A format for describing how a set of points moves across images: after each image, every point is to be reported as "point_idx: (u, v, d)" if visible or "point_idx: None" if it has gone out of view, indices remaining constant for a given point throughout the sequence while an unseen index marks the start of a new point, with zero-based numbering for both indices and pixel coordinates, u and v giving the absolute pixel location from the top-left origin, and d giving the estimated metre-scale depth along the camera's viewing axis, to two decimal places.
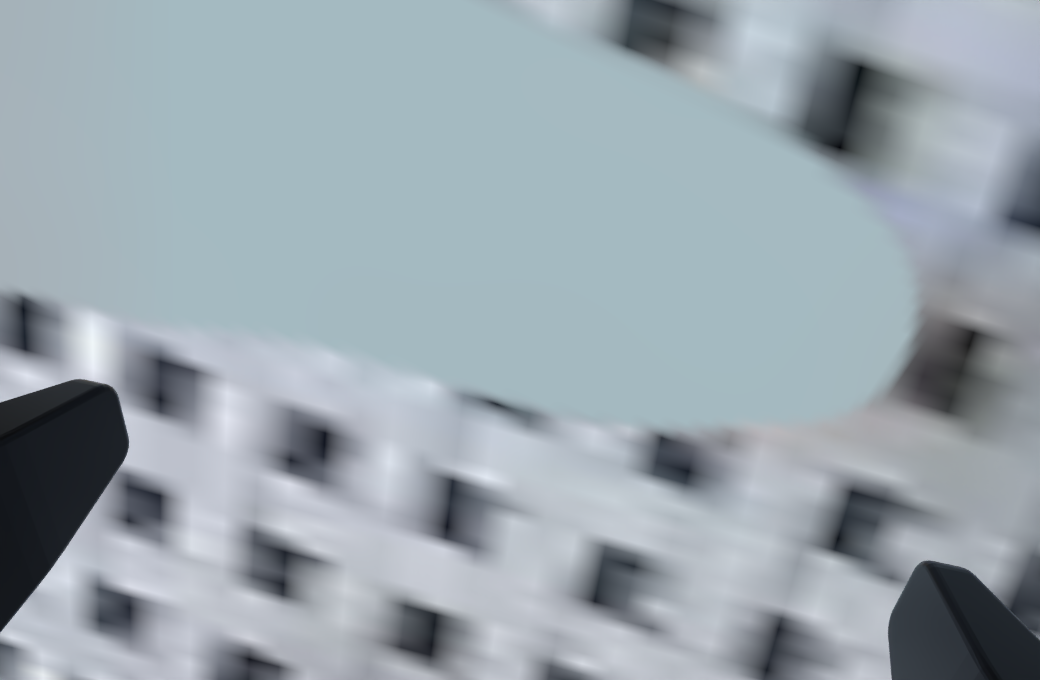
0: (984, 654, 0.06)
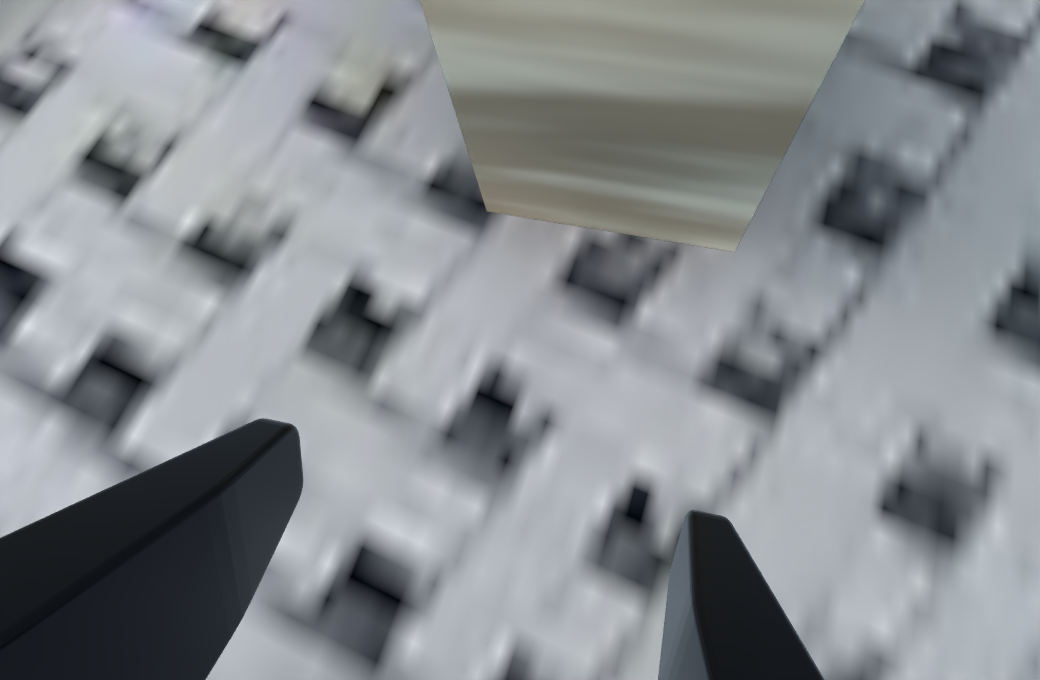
0: (699, 589, 0.06)
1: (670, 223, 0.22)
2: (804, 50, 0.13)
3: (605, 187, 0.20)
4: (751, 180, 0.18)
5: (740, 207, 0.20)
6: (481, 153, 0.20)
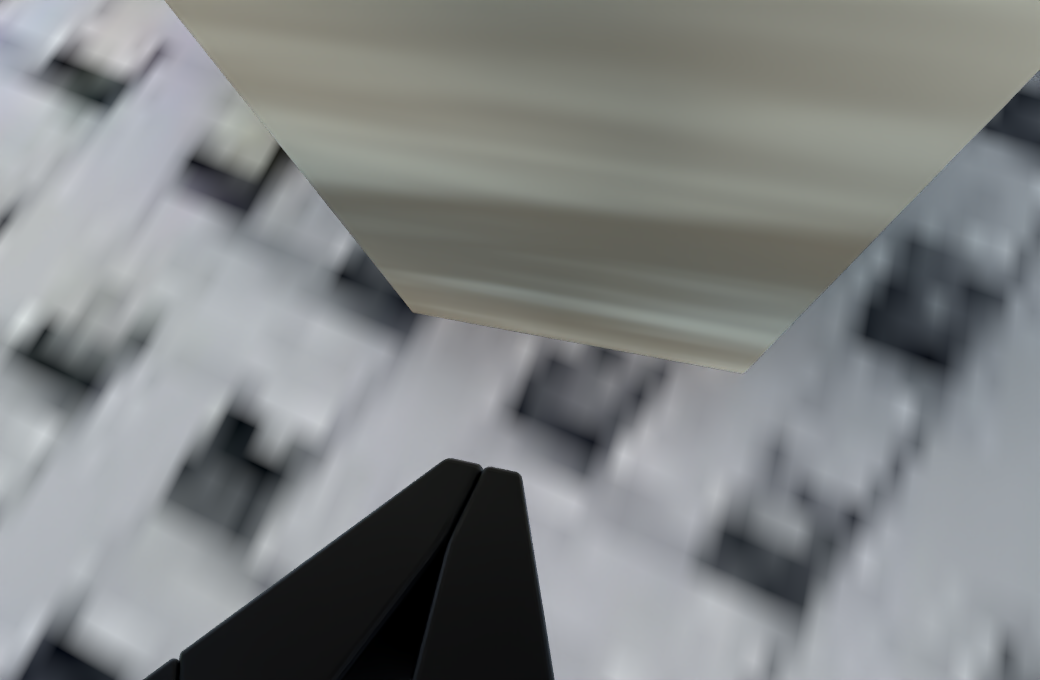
0: (457, 533, 0.06)
1: (656, 342, 0.16)
2: (883, 162, 0.07)
3: (563, 302, 0.14)
4: (772, 311, 0.12)
5: (754, 335, 0.14)
6: (385, 257, 0.14)
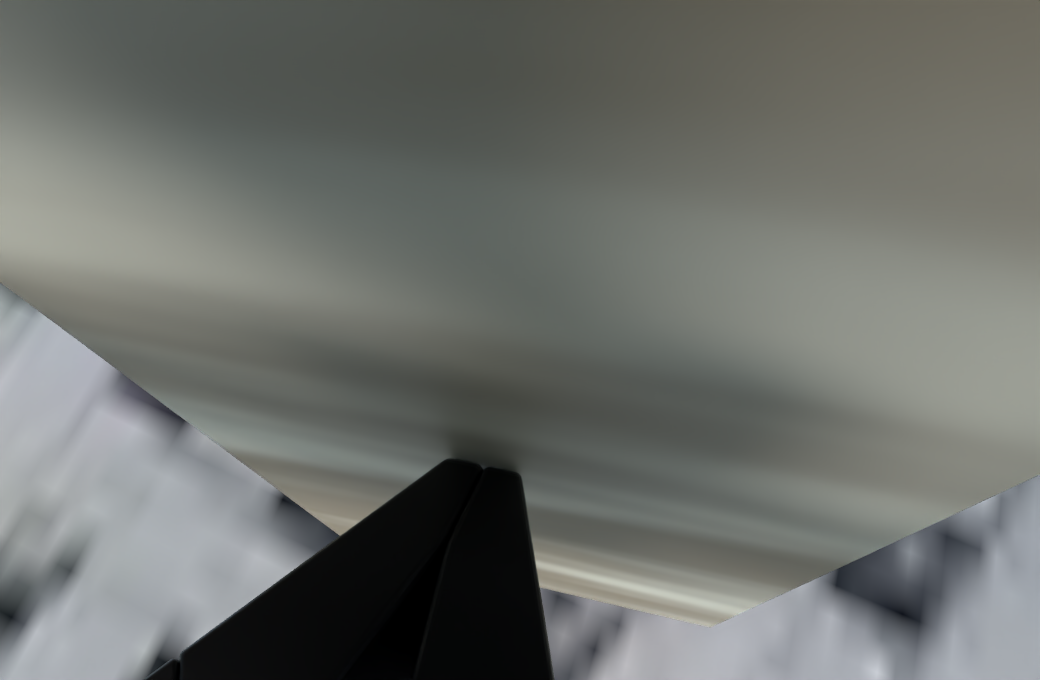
0: (457, 533, 0.06)
1: (613, 595, 0.14)
2: (850, 517, 0.06)
3: None
4: (736, 593, 0.11)
5: (719, 606, 0.12)
6: (312, 504, 0.13)
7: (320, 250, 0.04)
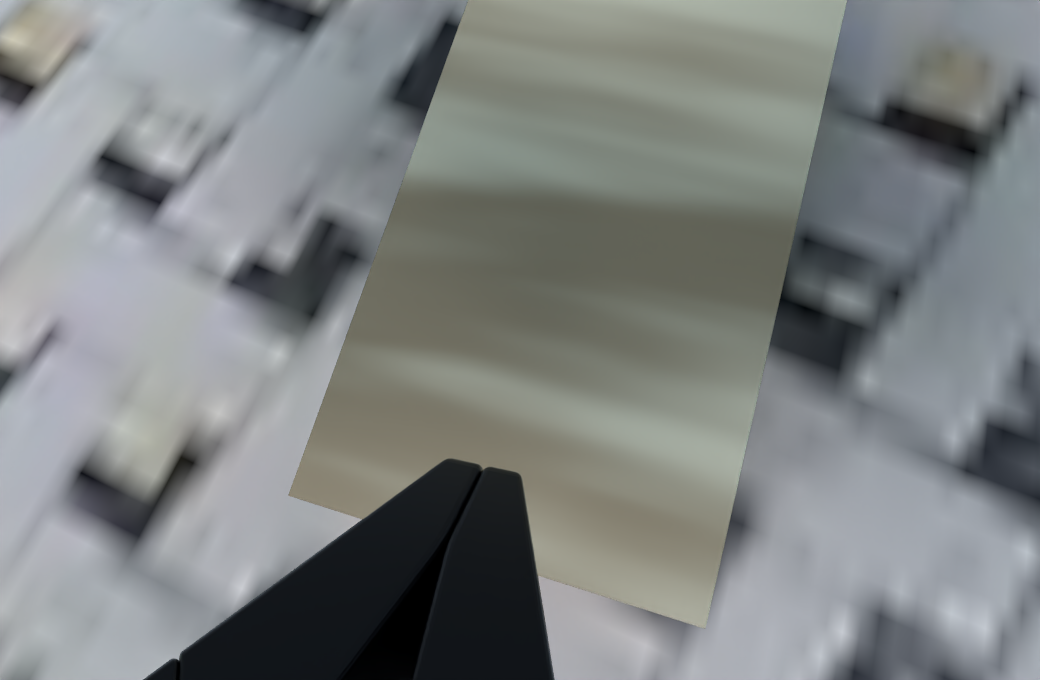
0: (457, 533, 0.06)
1: (606, 516, 0.13)
2: (787, 135, 0.15)
3: (526, 400, 0.14)
4: (737, 371, 0.14)
5: (720, 452, 0.13)
6: (374, 311, 0.15)
7: None
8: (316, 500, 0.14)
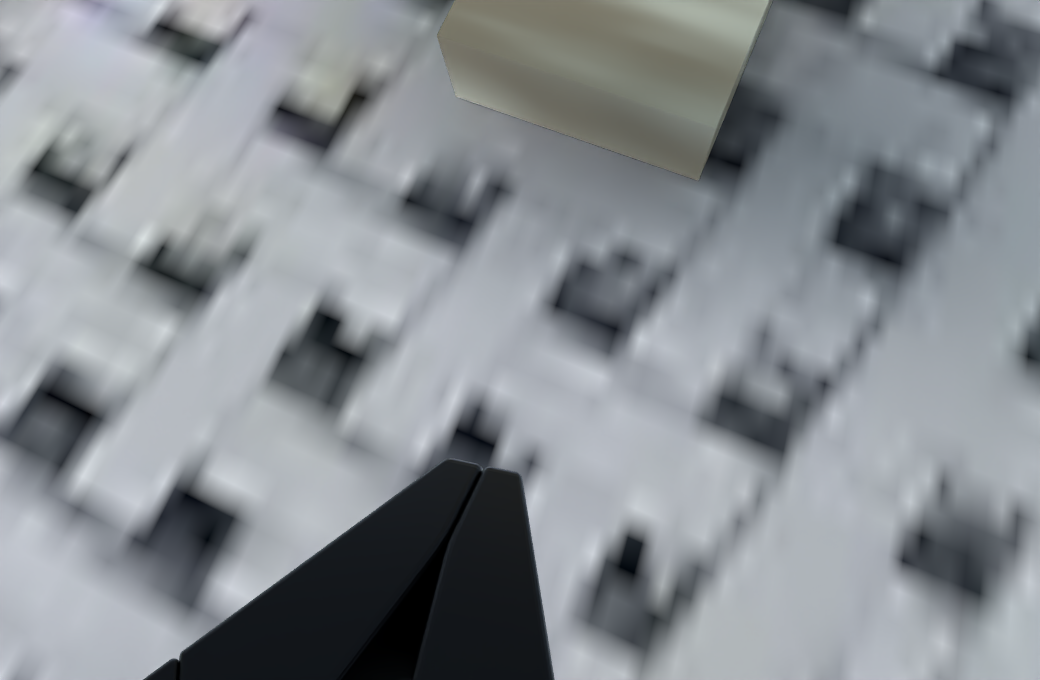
0: (457, 533, 0.06)
1: (656, 59, 0.19)
2: None
3: None
4: None
5: (741, 25, 0.19)
6: None
7: None
8: (456, 38, 0.20)
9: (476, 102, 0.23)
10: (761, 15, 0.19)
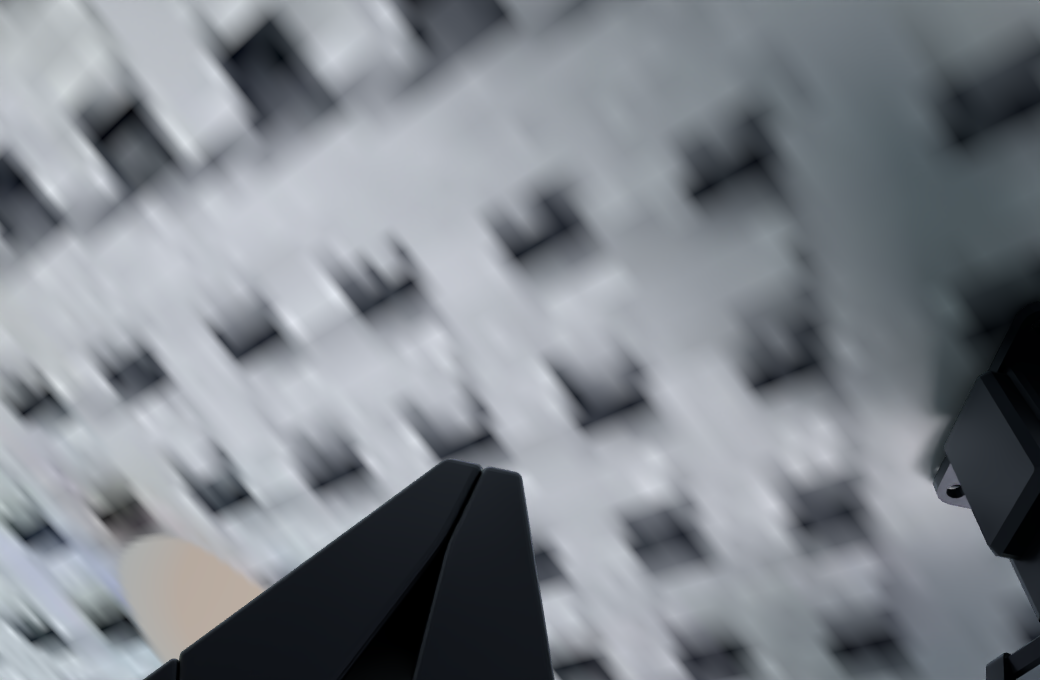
0: (457, 533, 0.06)
1: None
2: None
3: None
4: None
5: None
6: None
7: None
8: None
9: None
10: None
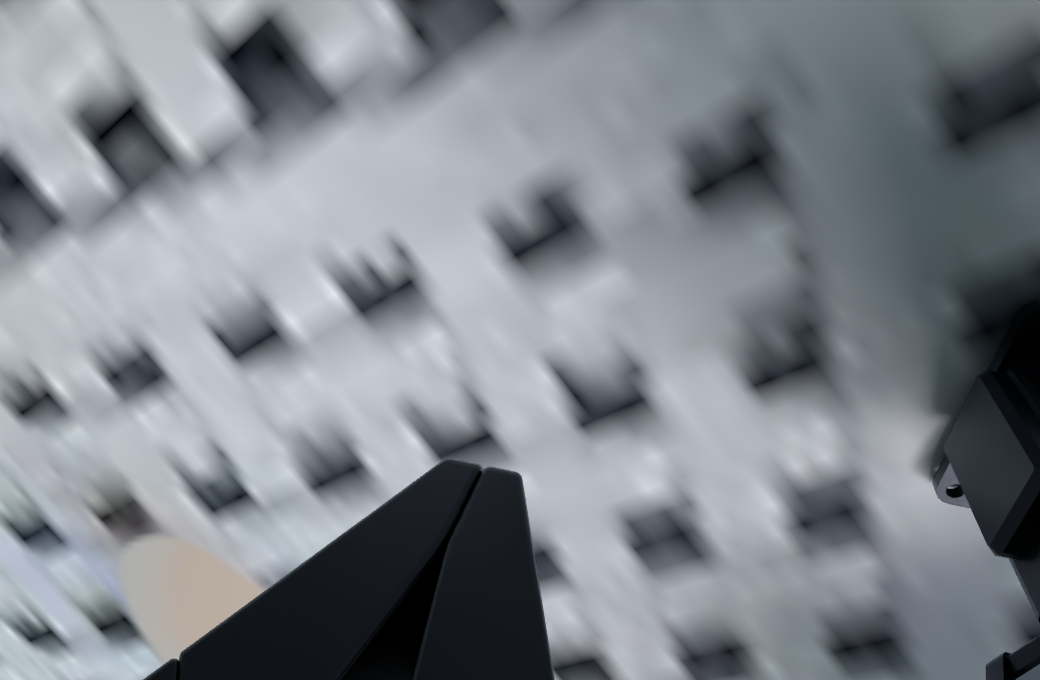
0: (457, 534, 0.06)
1: None
2: None
3: None
4: None
5: None
6: None
7: None
8: None
9: None
10: None
